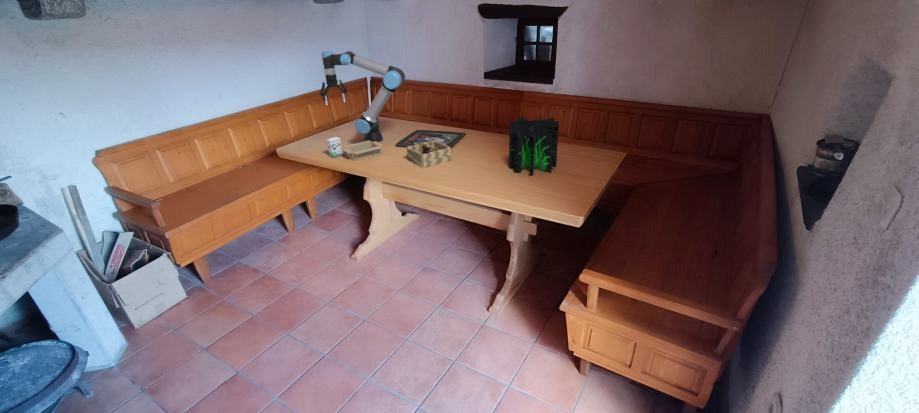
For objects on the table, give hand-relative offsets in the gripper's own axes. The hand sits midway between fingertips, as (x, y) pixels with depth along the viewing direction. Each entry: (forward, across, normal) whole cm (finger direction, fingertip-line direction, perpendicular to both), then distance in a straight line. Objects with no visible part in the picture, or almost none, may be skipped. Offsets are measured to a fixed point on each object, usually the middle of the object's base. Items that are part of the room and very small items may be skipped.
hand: (335, 103), depth 315 cm
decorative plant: (+33, -79, +128) cm, 154 cm away
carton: (+33, -4, +31) cm, 45 cm away
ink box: (+32, +12, +17) cm, 38 cm away
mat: (+33, +12, +17) cm, 39 cm away
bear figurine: (+33, -36, +70) cm, 86 cm away
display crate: (+33, -35, +72) cm, 86 cm away
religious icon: (+34, -59, +37) cm, 77 cm away
